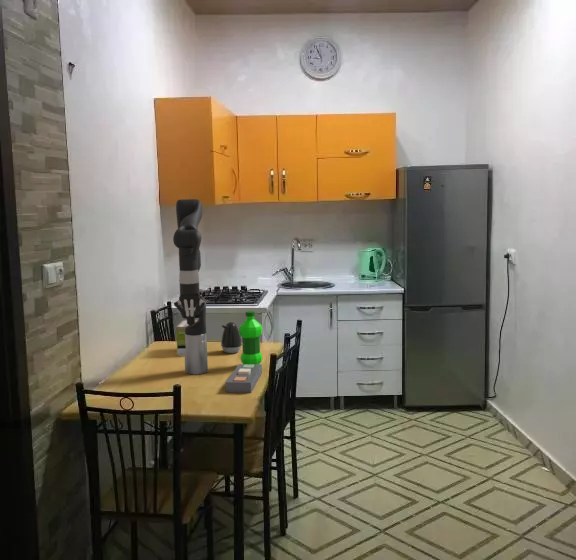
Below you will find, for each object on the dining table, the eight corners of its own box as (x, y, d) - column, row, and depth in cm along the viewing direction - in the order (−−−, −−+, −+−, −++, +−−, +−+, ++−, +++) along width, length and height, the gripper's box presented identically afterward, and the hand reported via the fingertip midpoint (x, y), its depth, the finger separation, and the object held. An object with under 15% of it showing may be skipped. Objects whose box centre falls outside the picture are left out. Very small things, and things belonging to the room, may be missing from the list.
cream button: (238, 379, 247) (238, 371, 246) (240, 375, 251) (240, 368, 251) (249, 379, 246) (248, 371, 246) (250, 376, 250) (250, 368, 250)
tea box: (183, 348, 308) (182, 319, 306) (203, 348, 308) (201, 319, 306) (176, 355, 293) (175, 326, 291) (197, 355, 293) (196, 325, 291)
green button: (242, 374, 256) (242, 367, 255) (244, 371, 260) (244, 364, 259) (253, 374, 255) (252, 367, 255) (254, 371, 259) (254, 364, 259)
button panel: (226, 392, 237) (225, 382, 236) (239, 373, 262) (239, 364, 262) (251, 392, 235) (250, 382, 235) (262, 373, 261) (261, 364, 260)
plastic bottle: (238, 369, 268) (236, 313, 265) (243, 362, 278) (241, 309, 275) (260, 369, 267) (259, 314, 264) (264, 363, 277) (263, 309, 274)
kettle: (216, 352, 298) (215, 322, 296) (233, 348, 305) (232, 319, 303) (229, 356, 291) (228, 325, 289) (246, 352, 298) (245, 321, 296)
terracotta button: (233, 387, 238) (233, 380, 237) (236, 384, 242) (235, 376, 242) (244, 388, 237) (244, 380, 237) (246, 384, 242) (246, 377, 241)
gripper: (208, 280, 236) (210, 323, 239) (175, 280, 238) (177, 323, 240) (203, 283, 229) (205, 327, 231) (169, 283, 230) (171, 327, 233)
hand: (191, 325), depth 236 cm, fingers closed
